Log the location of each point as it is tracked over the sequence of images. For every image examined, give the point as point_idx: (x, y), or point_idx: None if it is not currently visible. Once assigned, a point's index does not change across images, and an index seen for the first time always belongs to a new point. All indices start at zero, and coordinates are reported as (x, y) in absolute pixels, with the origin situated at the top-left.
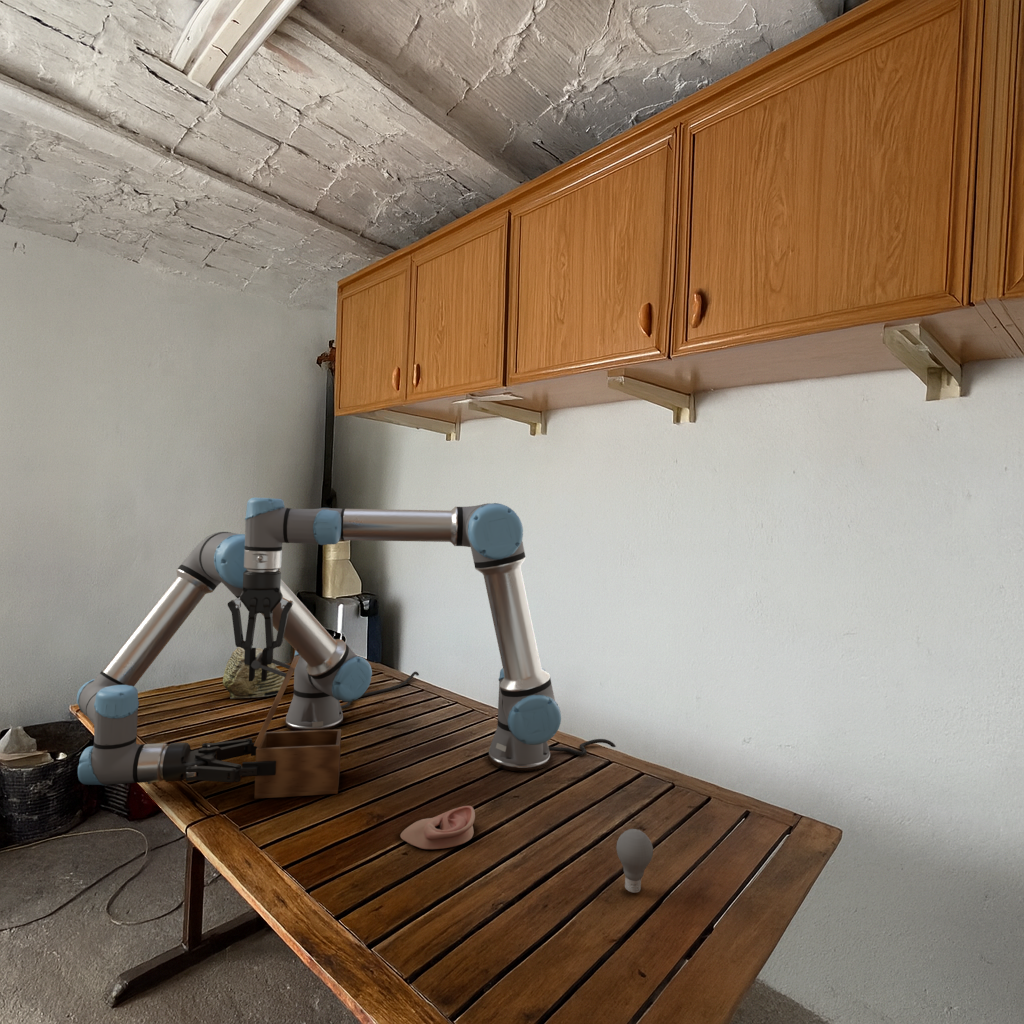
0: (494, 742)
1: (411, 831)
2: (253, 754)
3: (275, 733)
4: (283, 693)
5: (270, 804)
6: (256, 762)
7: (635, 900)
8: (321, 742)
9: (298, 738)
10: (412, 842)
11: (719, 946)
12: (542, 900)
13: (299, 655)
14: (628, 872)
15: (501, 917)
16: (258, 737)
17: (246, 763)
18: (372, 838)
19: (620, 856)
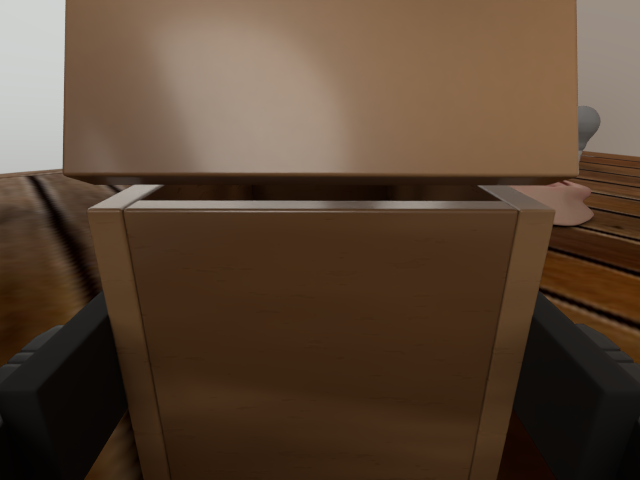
0: None
1: (567, 208)
2: (83, 465)
3: (167, 186)
4: None
5: (520, 444)
6: (545, 310)
7: (584, 164)
8: (240, 189)
9: (216, 190)
10: (588, 216)
11: (619, 157)
12: (631, 182)
13: None
14: (585, 143)
15: None
16: (574, 79)
17: (613, 361)
18: (595, 248)
19: (593, 128)
